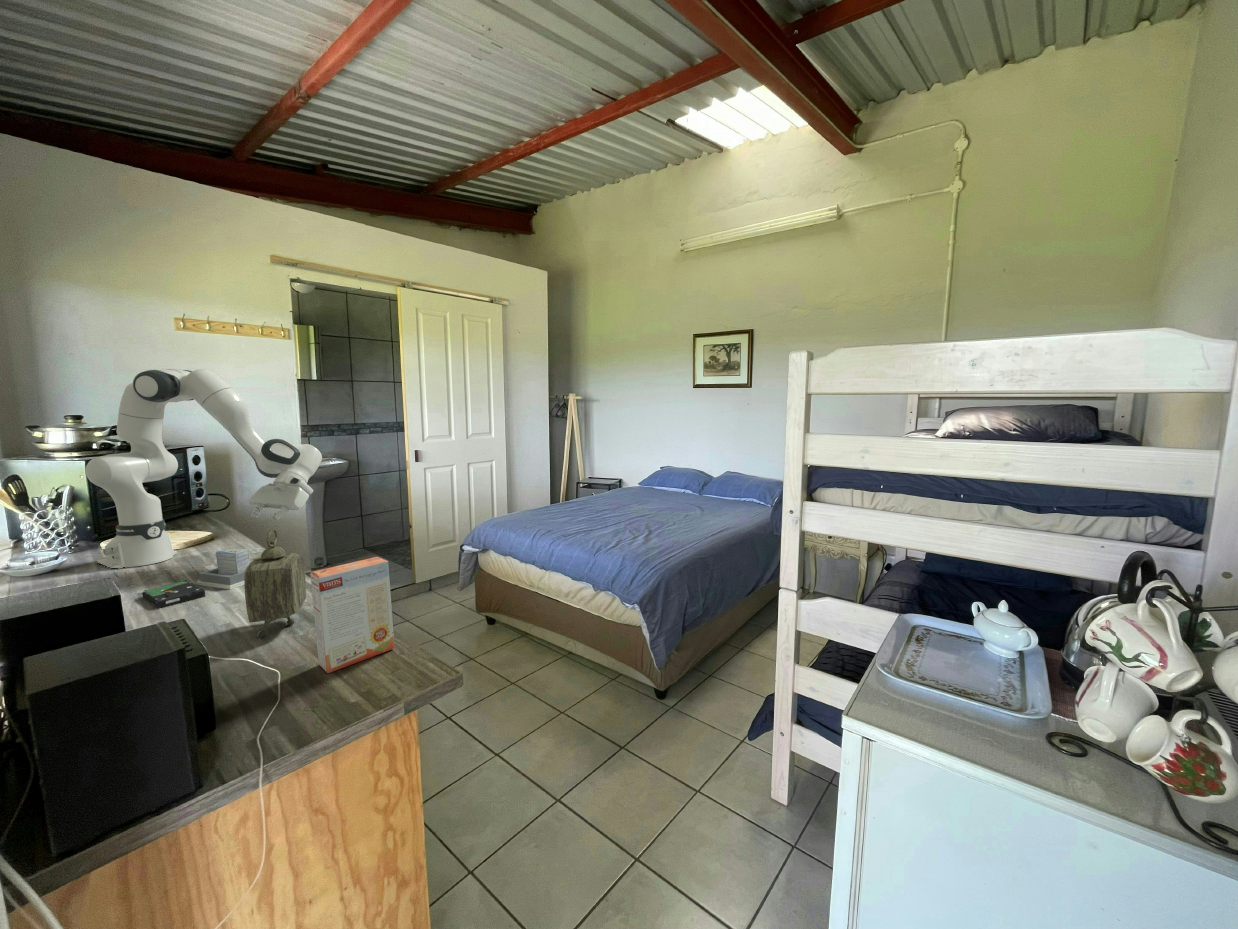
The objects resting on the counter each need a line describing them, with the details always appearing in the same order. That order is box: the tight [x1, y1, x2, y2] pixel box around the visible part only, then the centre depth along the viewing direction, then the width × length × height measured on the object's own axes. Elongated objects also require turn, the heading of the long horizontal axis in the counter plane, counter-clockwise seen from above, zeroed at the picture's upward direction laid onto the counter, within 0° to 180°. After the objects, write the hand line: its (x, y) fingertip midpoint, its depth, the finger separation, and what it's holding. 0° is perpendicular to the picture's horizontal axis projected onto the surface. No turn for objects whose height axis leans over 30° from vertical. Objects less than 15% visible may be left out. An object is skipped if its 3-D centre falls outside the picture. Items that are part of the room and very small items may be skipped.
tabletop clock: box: [243, 528, 307, 639], centre depth 120 cm, size 14×9×25 cm, turn 21°
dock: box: [195, 561, 252, 590], centre depth 154 cm, size 14×14×4 cm
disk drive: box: [141, 579, 206, 609], centre depth 140 cm, size 10×3×15 cm
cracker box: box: [309, 556, 395, 674], centre depth 105 cm, size 14×6×21 cm, turn 138°
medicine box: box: [215, 547, 251, 576], centre depth 153 cm, size 8×4×9 cm, turn 78°
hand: (264, 518), depth 162 cm, fingers open, 8 cm apart
